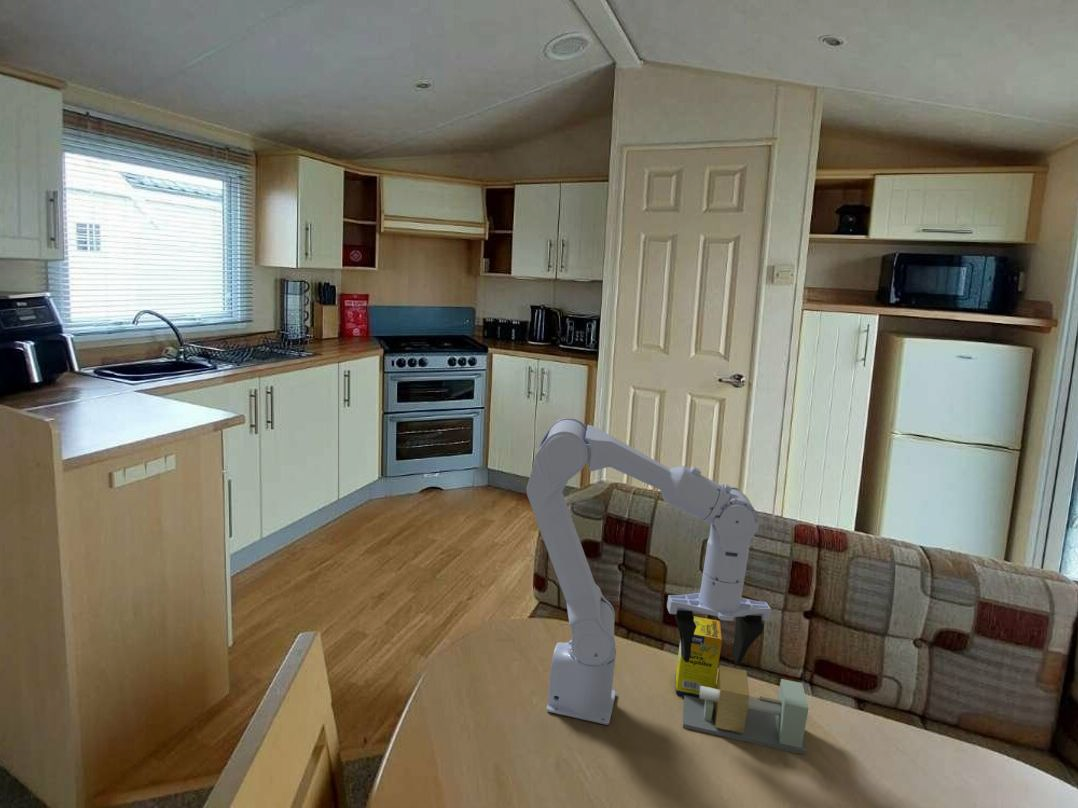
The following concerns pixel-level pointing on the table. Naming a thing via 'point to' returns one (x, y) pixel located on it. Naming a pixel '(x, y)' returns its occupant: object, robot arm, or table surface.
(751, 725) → the shaft rig
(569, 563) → the robot arm
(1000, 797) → the table surface
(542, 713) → the table surface
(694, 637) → the supplement box
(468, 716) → the table surface
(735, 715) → the block
